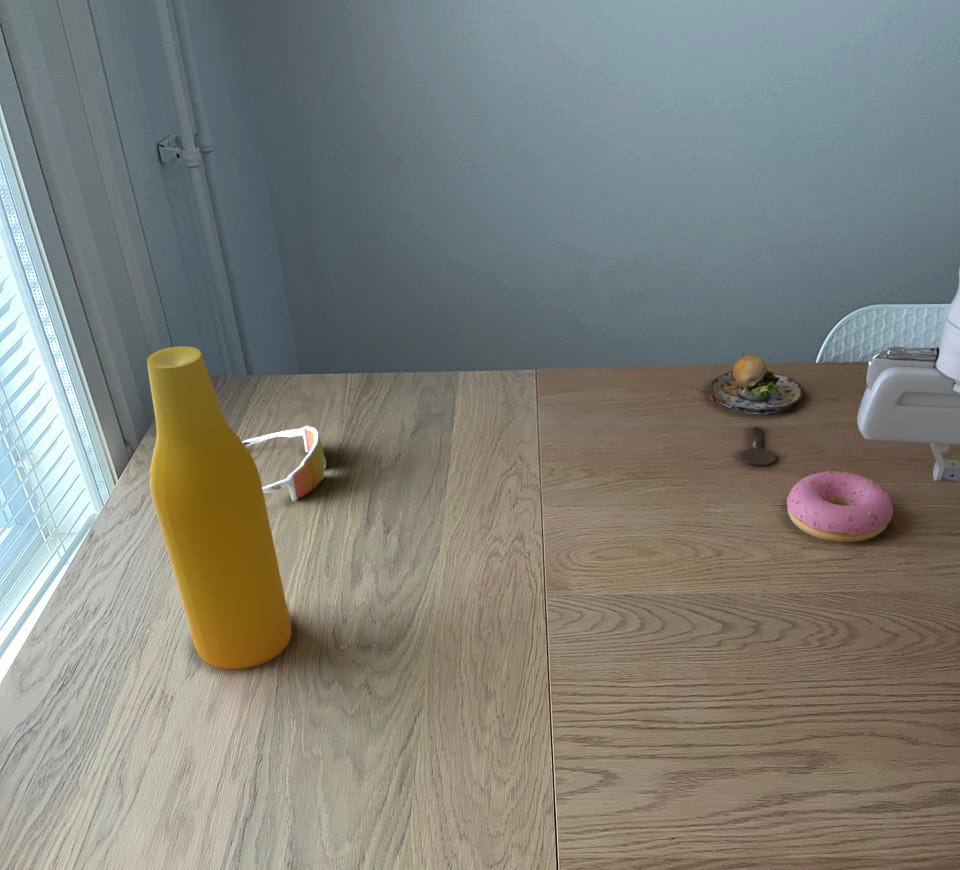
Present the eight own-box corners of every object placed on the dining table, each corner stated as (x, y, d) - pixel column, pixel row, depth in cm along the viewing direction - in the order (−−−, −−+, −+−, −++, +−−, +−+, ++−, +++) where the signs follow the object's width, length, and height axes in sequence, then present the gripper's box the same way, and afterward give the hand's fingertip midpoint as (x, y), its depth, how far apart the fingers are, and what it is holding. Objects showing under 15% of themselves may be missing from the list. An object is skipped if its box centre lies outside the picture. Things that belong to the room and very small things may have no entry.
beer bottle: (313, 639, 95) (258, 351, 76) (236, 689, 90) (157, 393, 71) (253, 602, 100) (188, 324, 81) (177, 648, 95) (89, 362, 76)
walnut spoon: (772, 434, 122) (773, 426, 122) (775, 472, 115) (776, 463, 115) (739, 433, 123) (740, 424, 122) (740, 470, 116) (741, 461, 115)
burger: (804, 422, 125) (814, 366, 120) (709, 419, 126) (715, 364, 122) (796, 382, 134) (805, 328, 129) (707, 379, 135) (713, 326, 131)
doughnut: (894, 506, 109) (903, 473, 106) (881, 559, 101) (890, 525, 98) (794, 488, 112) (800, 456, 110) (774, 538, 105) (780, 504, 102)
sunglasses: (323, 507, 113) (311, 470, 110) (199, 528, 115) (183, 492, 112) (337, 448, 124) (325, 413, 121) (223, 468, 126) (209, 433, 123)
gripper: (876, 359, 92) (846, 487, 101) (1113, 370, 88) (1061, 502, 97) (868, 333, 97) (840, 457, 105) (1094, 342, 93) (1045, 470, 102)
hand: (948, 479), depth 101 cm, fingers closed
